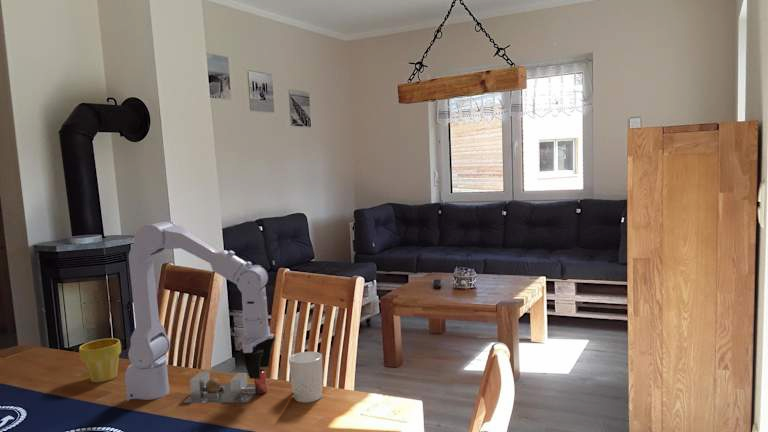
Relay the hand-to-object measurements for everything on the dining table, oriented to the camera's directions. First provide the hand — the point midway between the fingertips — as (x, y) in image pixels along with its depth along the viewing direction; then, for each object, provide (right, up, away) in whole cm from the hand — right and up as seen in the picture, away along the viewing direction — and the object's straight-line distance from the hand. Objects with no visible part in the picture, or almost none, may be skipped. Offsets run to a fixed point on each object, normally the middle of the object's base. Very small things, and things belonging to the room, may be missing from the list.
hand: (259, 372), depth 146 cm
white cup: (+12, -6, -1) cm, 13 cm away
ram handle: (-2, -5, +1) cm, 5 cm away
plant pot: (-47, -7, +20) cm, 52 cm away
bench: (-9, -7, +2) cm, 11 cm away
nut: (-12, -6, +2) cm, 13 cm away
